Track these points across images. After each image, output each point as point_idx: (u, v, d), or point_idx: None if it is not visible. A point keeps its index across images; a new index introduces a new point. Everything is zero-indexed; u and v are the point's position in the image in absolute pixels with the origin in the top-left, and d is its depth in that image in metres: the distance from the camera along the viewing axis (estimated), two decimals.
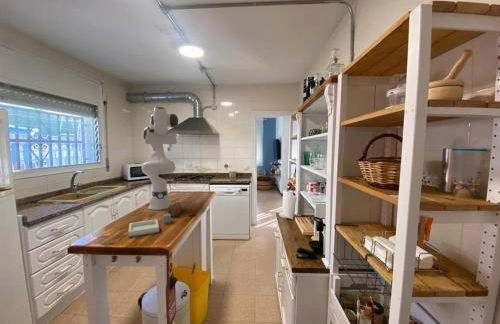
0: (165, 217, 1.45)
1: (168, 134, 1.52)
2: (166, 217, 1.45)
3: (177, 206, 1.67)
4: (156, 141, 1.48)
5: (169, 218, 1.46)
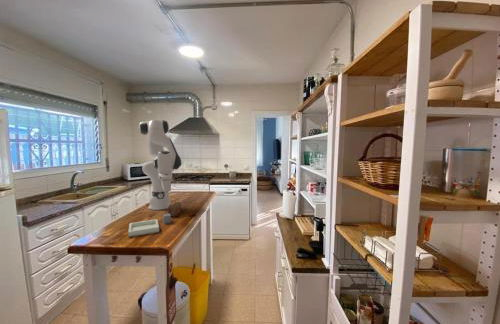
0: (165, 217, 1.45)
1: None
2: (166, 217, 1.45)
3: (177, 206, 1.67)
4: None
5: (169, 218, 1.46)
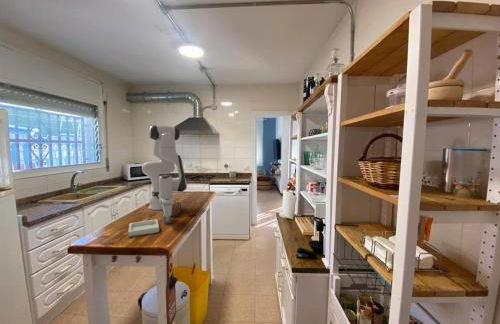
0: (165, 217, 1.45)
1: None
2: None
3: (177, 206, 1.67)
4: None
5: (169, 218, 1.46)
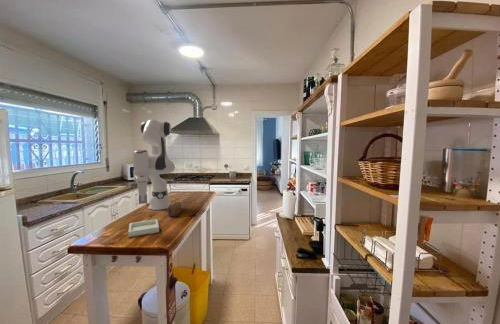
0: (140, 197, 1.30)
1: None
2: None
3: (177, 206, 1.67)
4: None
5: (145, 198, 1.31)
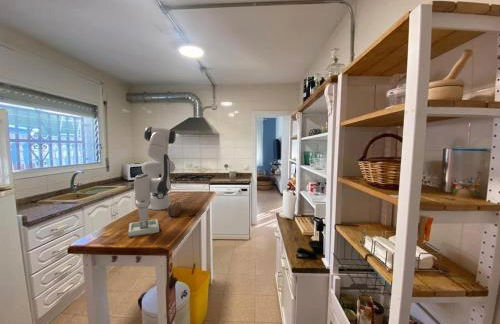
0: None
1: None
2: None
3: (177, 206, 1.67)
4: None
5: (146, 224, 1.33)
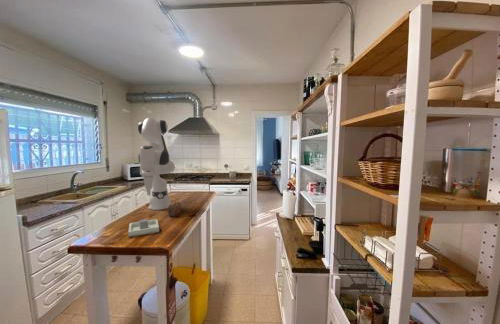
0: (142, 223, 1.31)
1: None
2: (143, 223, 1.32)
3: (177, 206, 1.67)
4: None
5: (146, 224, 1.33)
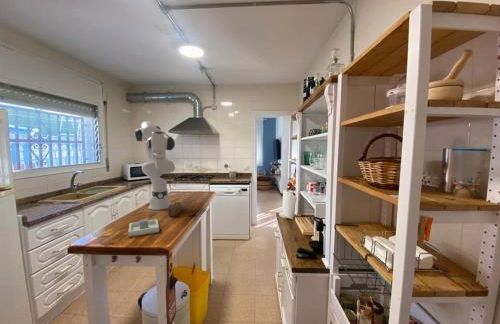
0: (142, 223, 1.31)
1: None
2: (143, 223, 1.32)
3: (177, 206, 1.67)
4: None
5: (146, 224, 1.33)
